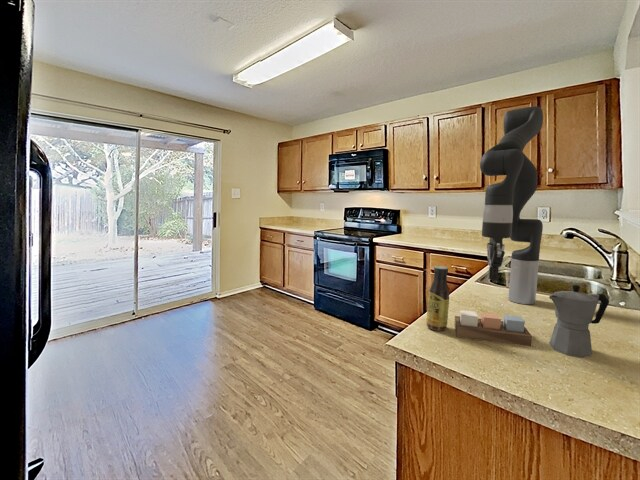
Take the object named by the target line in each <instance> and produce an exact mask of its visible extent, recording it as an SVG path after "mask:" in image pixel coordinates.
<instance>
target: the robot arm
mask: <svg viewBox="0 0 640 480" xmlns="http://www.w3.org/2000/svg"><path fill="white" fill-rule="evenodd" d="M543 121H544V113H543V109H542V108H541V107H540V106H537V105H536V106H535V105H533V106H532V105H531V106H528V107H522V108H517V109H516V108H515V109H510V110H507V111H506V112H505V114H504V117H503V136H502V138H500V140H499V141H498V143H497V144H496V145H494V146H492V147H490V148H489V149H488V150H486V151H485V152H484V154H483V155H482V157H481V159H480V163H479V168H480V172H481V173H482V174H483V175H485V176H488V177H495V176H499V177H501V176H505V178H504V179H503V180H502V181H501V182H498V183H493V184H489V185H487V187H486V188H485V193H484V194H485V196H484V208H483V214H482V227H481V236H482V237H484V238H488V239H489V241H488V242H486V253H487V255H486V256H487V264H488V267H489V268H488V269H489V270H488V279H489V280H490V281H498V279H499V269H500V267H502V266H503V265H502V264H503V260H504V258H505V254H506V252H505V244H503V239H510V240H511V241H512V242H518V243H519V242H520V243H529V245H528V246H527V247H525V248H522V249H516V250H512V253H511V260H510V273H509V286H508V300H509V301H510V302H513V303H516V304H523V305H533V304H534V305H535V304H536V301H537V297H536V296H537V286H538V276H539V274H538V273H539V263H540V253H541V252H540V250H541V242H542V236H543V230H544V229H543V227H544V225H543V222H542V221H541V219H537V218H535V219H534V218H521V217H520V215H521V212H522V210H523V208H525V206H526V204H527V203H528V201H530V199H531V198H532V197H533V196H534V195H535V193H536V191H537V189H538V170H537V168H536V166H535V164H533V162H532V160H531V159H530V158H529V157H527V155H526V154H525V153H524V152H523V151H524V150H525V147H526V145H528V143H529V142H530V141H532V139H534V138H535V136H537V135H538V134H539V133H540V131H541V130H542V127H543V124H544V122H543Z"/></svg>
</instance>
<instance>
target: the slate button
mask: <svg viewBox="0 0 640 480" xmlns="http://www.w3.org/2000/svg"><path fill="white" fill-rule="evenodd" d="M502 321H503V327H504V329H505V330H508V331H517V332H524V326H525V320H524V319H523V318H522V316H520V315H519V316H518V315H510V314H503V320H502Z"/></svg>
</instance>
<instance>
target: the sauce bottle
mask: <svg viewBox="0 0 640 480" xmlns="http://www.w3.org/2000/svg"><path fill="white" fill-rule="evenodd" d="M433 272H434V273H433V281H432V282H431V285H430V287H429V290H428V295H427V306H426V327H427V328H428V329H429V330H433V331H435V332H443V331H445V330H447V325H448V319H449V308H450V307H449V306H450V290H451V289H450V287H449V285H448V282H447V281H448V280H447V277H448V272H449V267H447V266H443V265H436V266H434V268H433Z"/></svg>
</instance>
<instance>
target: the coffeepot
mask: <svg viewBox="0 0 640 480" xmlns="http://www.w3.org/2000/svg"><path fill="white" fill-rule="evenodd" d="M571 286H572V290H559V291H555V292H553V294H551V295H549V299H550V300H551V301H552V302H553V304H554V311H555V312H554V313H555V317H556V323H555V324H554V327H553V330H552V332H551V337H550V340H549V342H548V343H549V345H550V347H551V349H553V350H554V351H556V352H559V353H561V354H562V355H567V356H570V357H576V358H587V357H590V356H591V355H593V348H592V347H593V346H592V340H591V330H590V329H589V326H590V324H592V325H593V324H594V325H595V324H599V323H600V322H601V320H602V318H603V316H604V314H605V312H606V310H607V307H608V306H609V305H610V304H609V303H610V299H608V297H607V296H606V295H605V294H603V293H589V294H587V293H584V292H580V288H581V286H580V285H578V284H573V285H571ZM599 301H600V303H599ZM598 303H599V306H598V310H597V311H596V309H597V305H598ZM595 312H596V313H595ZM594 315H595V318H594ZM593 318H594V319H593Z"/></svg>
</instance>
